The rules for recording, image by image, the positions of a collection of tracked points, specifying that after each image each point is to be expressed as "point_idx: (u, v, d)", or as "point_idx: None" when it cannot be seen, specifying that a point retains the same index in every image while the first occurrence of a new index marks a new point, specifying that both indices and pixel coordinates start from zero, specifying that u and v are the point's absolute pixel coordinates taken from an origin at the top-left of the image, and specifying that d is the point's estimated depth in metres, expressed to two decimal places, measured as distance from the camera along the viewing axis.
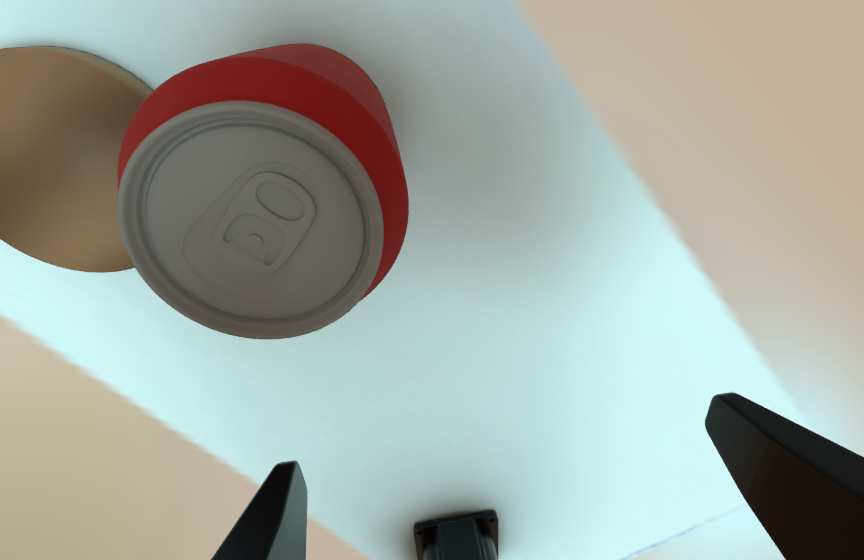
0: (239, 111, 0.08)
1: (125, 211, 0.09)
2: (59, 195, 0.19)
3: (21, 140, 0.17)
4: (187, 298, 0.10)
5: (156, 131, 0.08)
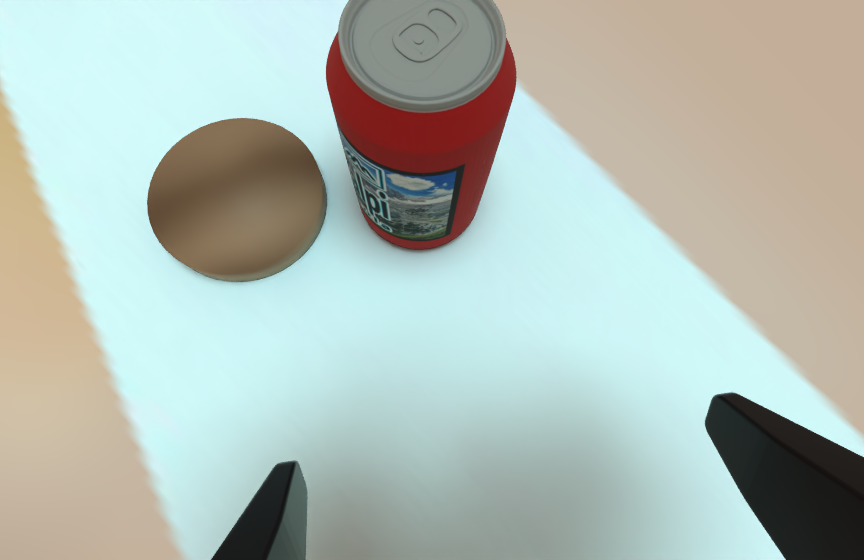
0: None
1: (349, 8, 0.14)
2: (219, 206, 0.24)
3: (217, 168, 0.24)
4: (359, 71, 0.14)
5: None
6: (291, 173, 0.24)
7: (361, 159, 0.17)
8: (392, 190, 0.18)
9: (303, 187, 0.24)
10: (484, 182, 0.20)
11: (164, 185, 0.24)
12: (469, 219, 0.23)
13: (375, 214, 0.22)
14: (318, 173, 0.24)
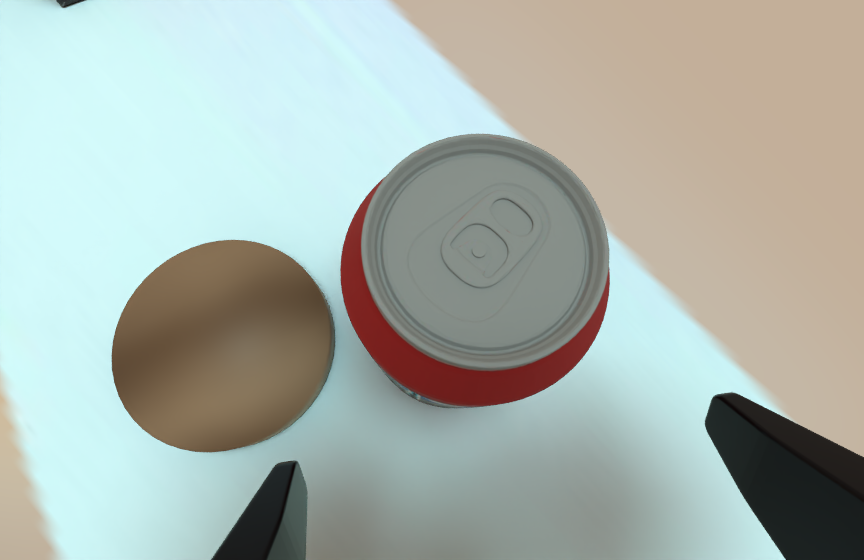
0: (496, 138, 0.10)
1: (376, 203, 0.10)
2: (201, 359, 0.19)
3: (200, 306, 0.20)
4: (393, 306, 0.09)
5: (429, 145, 0.10)
6: (291, 312, 0.20)
7: (389, 375, 0.12)
8: (428, 401, 0.13)
9: (306, 331, 0.19)
10: None
11: (133, 331, 0.19)
12: None
13: None
14: (325, 312, 0.20)
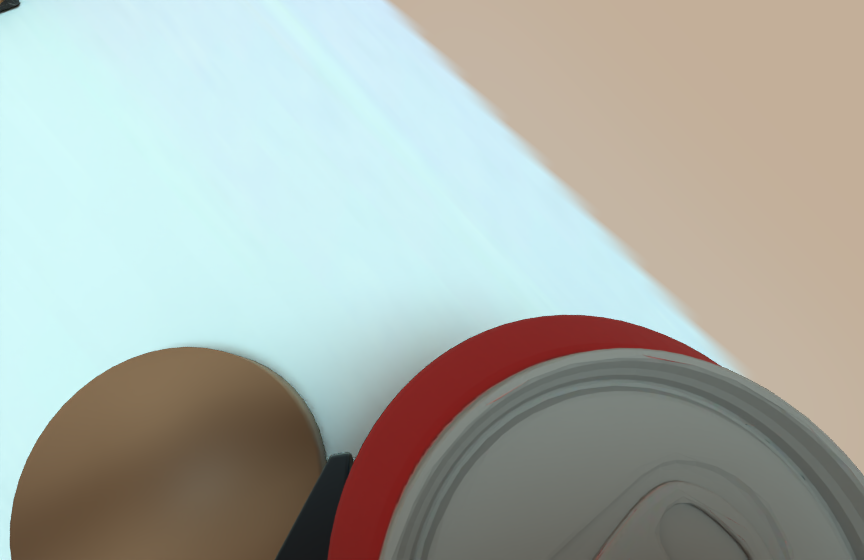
0: (659, 359, 0.05)
1: (404, 537, 0.04)
2: (138, 527, 0.13)
3: (138, 447, 0.14)
4: None
5: (516, 380, 0.05)
6: (265, 454, 0.14)
7: None
8: None
9: (287, 483, 0.14)
10: None
11: (43, 485, 0.14)
12: None
13: None
14: (312, 453, 0.14)
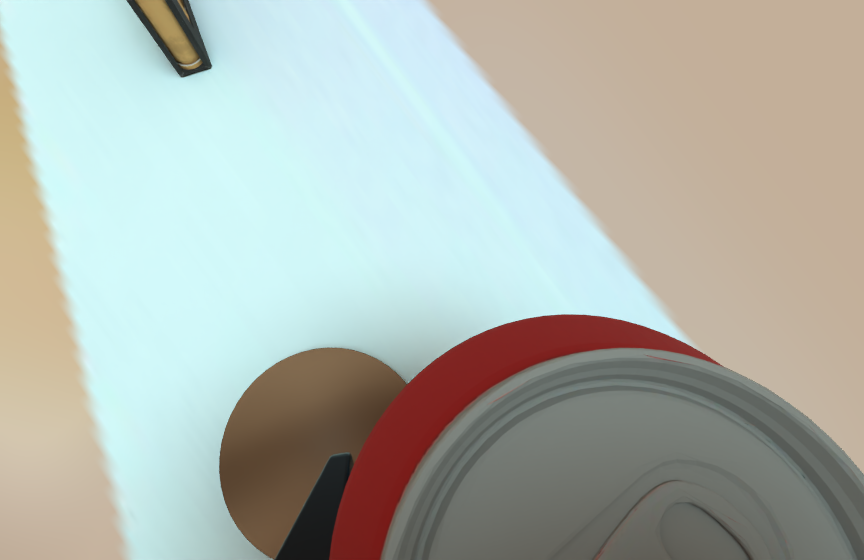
0: (659, 360, 0.05)
1: (405, 536, 0.04)
2: (305, 471, 0.19)
3: (306, 415, 0.20)
4: None
5: (517, 380, 0.05)
6: None
7: None
8: None
9: None
10: None
11: (241, 435, 0.20)
12: None
13: None
14: None
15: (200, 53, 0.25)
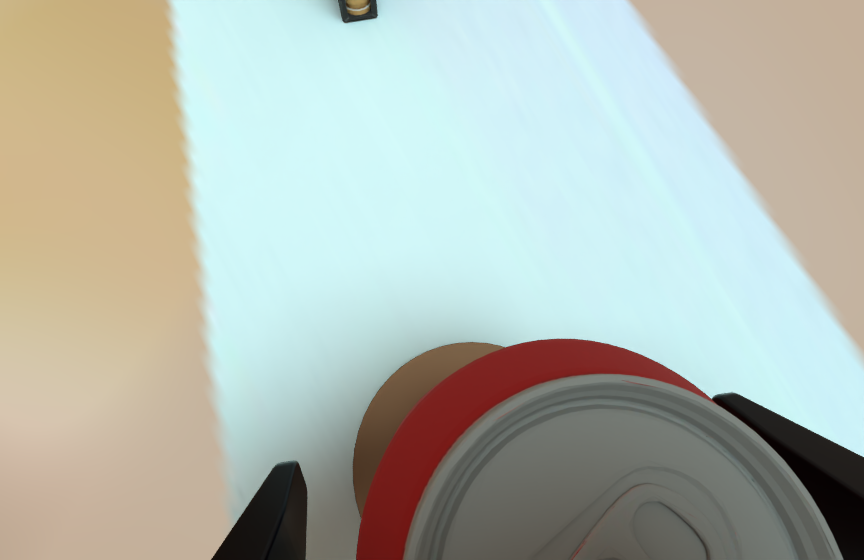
0: (634, 384, 0.06)
1: (426, 528, 0.05)
2: None
3: None
4: None
5: (517, 401, 0.06)
6: None
7: None
8: None
9: None
10: None
11: (381, 426, 0.17)
12: None
13: None
14: None
15: None
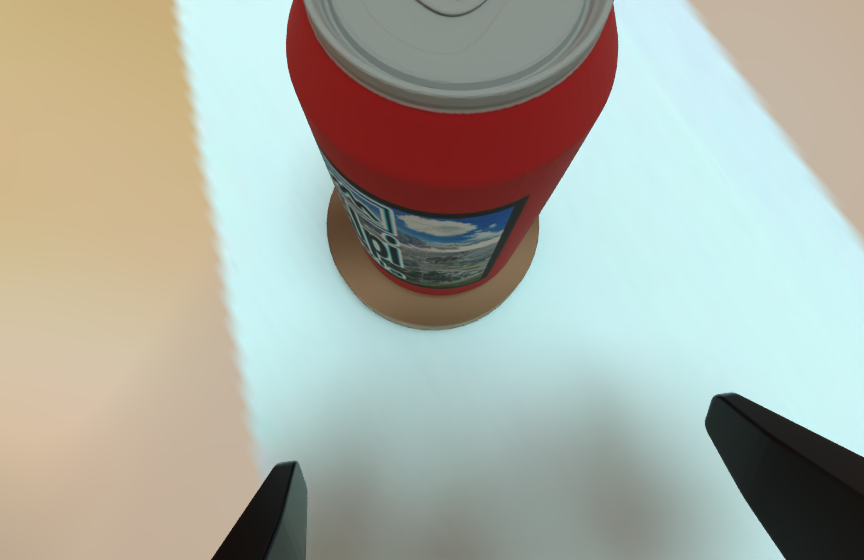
0: None
1: None
2: None
3: None
4: (341, 40, 0.07)
5: None
6: None
7: (355, 192, 0.10)
8: (407, 235, 0.11)
9: None
10: None
11: None
12: (512, 254, 0.17)
13: (381, 258, 0.15)
14: None
15: None
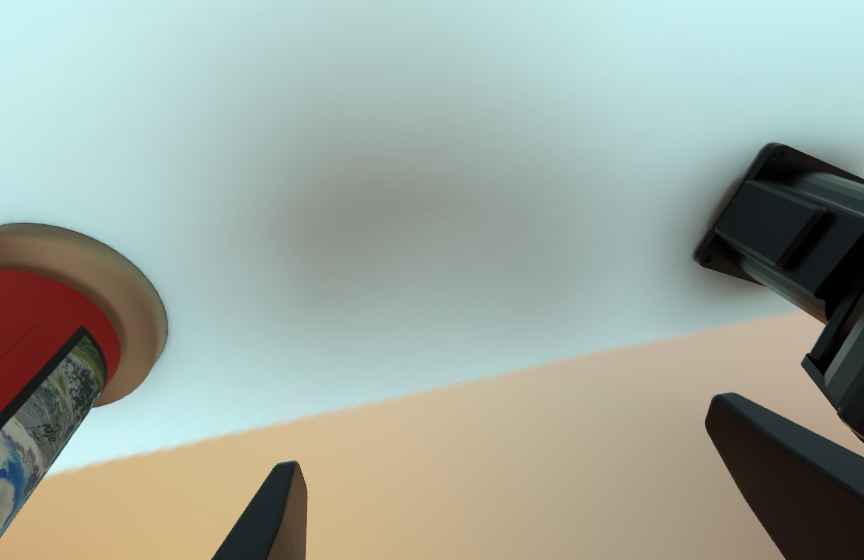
0: None
1: None
2: None
3: None
4: None
5: None
6: None
7: None
8: (25, 492, 0.14)
9: (28, 261, 0.18)
10: None
11: None
12: (49, 301, 0.17)
13: None
14: (2, 239, 0.17)
15: None
